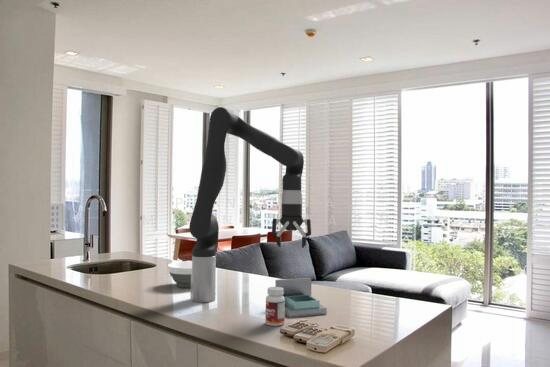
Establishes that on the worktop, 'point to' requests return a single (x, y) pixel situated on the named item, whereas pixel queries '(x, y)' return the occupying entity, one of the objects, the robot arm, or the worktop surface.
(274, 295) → the pill bottle
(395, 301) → the worktop surface
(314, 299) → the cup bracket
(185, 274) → the bowl
